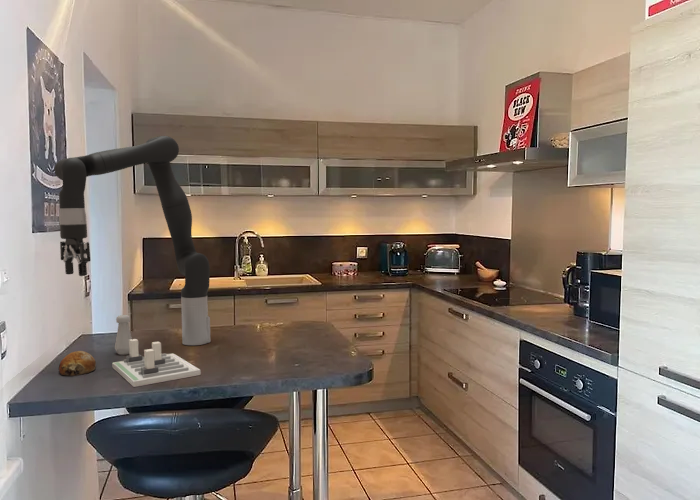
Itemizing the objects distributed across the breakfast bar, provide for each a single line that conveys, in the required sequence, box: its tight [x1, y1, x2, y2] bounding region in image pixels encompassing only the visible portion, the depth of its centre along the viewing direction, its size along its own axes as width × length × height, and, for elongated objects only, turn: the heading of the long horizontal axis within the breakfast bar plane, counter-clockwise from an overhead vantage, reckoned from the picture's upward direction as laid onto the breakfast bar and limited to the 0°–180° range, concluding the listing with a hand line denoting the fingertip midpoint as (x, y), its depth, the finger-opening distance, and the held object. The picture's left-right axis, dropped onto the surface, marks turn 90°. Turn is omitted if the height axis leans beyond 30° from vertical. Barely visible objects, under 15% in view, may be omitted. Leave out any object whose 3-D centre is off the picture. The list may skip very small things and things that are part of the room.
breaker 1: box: [125, 338, 143, 363], centre depth 173 cm, size 4×3×7 cm
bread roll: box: [58, 350, 97, 377], centre depth 169 cm, size 10×10×8 cm
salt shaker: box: [114, 314, 133, 356], centre depth 190 cm, size 6×6×13 cm
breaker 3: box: [151, 341, 165, 365], centre depth 169 cm, size 4×3×7 cm
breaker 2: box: [141, 348, 158, 376], centre depth 160 cm, size 4×3×7 cm
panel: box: [112, 353, 202, 388], centre depth 169 cm, size 19×24×2 cm
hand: (76, 275), depth 175 cm, fingers open, 8 cm apart
